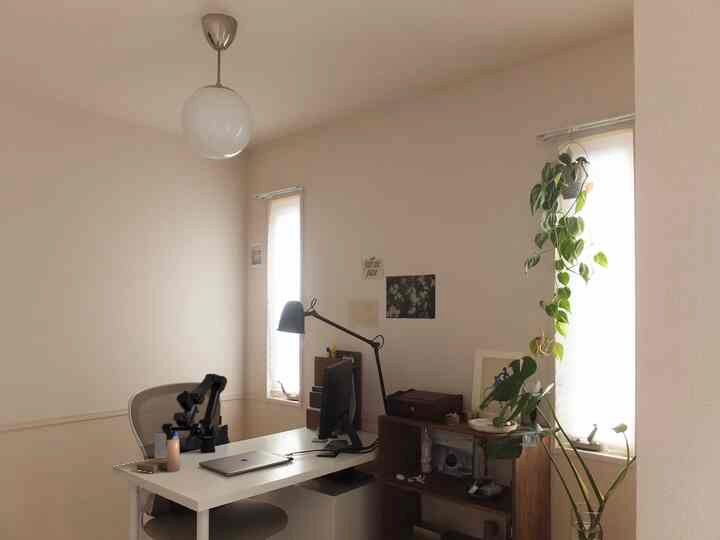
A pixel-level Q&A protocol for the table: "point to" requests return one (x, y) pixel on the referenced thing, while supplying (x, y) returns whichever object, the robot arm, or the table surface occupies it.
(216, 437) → the robot arm
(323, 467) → the table surface
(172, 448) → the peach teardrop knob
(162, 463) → the walnut plinth
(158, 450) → the ink cartridge box
